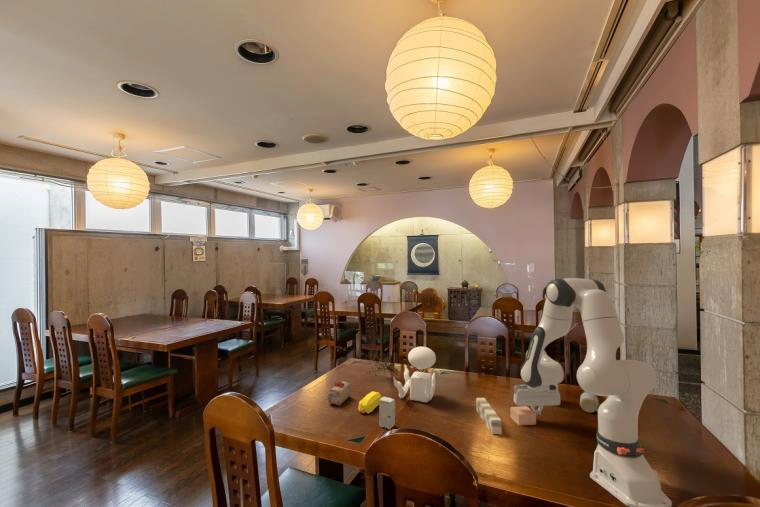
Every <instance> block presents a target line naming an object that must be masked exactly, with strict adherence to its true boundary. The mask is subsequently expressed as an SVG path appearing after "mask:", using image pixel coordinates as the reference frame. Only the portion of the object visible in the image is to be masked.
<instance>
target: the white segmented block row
mask: <svg viewBox="0 0 760 507" xmlns="http://www.w3.org/2000/svg"><path fill="white" fill-rule="evenodd" d="M475 404H476V405H475V410H476V412H477V414H478V415H479V416H480V417H479V418H480V419H481V420H482V421H483V423H484V424H485V426H486V427H487V429H488V431H489V433H490V434H491V435H492V434H500V435H502V434H503V433H502V419H501V417H499V415H498V414H497V412H496V411H495V410H494V408H493V407H492V406H491V404H490V403H489V402H488V401H487V399H486V398H485V397H475Z"/></svg>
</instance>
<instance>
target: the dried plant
mask: <svg viewBox="0 0 760 507" xmlns="http://www.w3.org/2000/svg"><path fill="white" fill-rule="evenodd" d="M359 329H360V327H359ZM360 337H361V340H362V341H364V339H366V337H364V336H363V335H360ZM363 344H364V345H363V347H365V348H366V350H367V351H368V354H365V353H364V352H363V351H361V349H359V350H358V349H357V350H356V349H353V350H352V352H353V353H354V354H356V353H358V354H357V357H359V359H361V357H362V356H363V355H364V357H363V360H366V361H365V362H362V365H364V364H365V365H369V364H372V362H373V364H374V367H370V368H369V367H368V368H365V369H364V371H366V374H367V375H368V373H369V375H371V373H372V374H375V376H377V373H383V374H384V375H387V374H388V373H389V374H393V375H396V376H398V377H399V376H400V375H401V374H402V373H401V371H399V367H398V368H395V362H392V361H393V360H390V361H389V359H390V358H388V356H387V354H385V353H383V352H384V351H381V352H380V353H379V355H378V354H377V353H378V350H375V351H374V349H373V348H372V347H370V346H369V344H367V343H363ZM336 348H339V349H338V351H341V350H342V351H344V352H345V351H350V352H351V349H350V350H349V349H348V350H347V348H346V347H344V348H342V347H338V346H335V349H336ZM379 349H380V350H381V348H379ZM382 356H384V357H383V358H382ZM369 369H370V370H369ZM367 370H368V371H367ZM362 376H365V373H364V374H362Z"/></svg>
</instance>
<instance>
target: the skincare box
mask: <svg viewBox="0 0 760 507" xmlns="http://www.w3.org/2000/svg"><path fill="white" fill-rule="evenodd" d="M378 406H379V407H378V414H379V415H378V416H379V418H378V424H379V425H378V426H380V428H383V427H385V428H384V429H386V428H387V429H386V430H392V429H393V428H394V427H395V426H394V425H396V424H395V423H396V421H395V419H396V399H394V398H392V397H387V396H382V398H381V399H380V400H379V405H378ZM393 426H394V427H393ZM392 427H393V428H392ZM391 428H392V429H391Z"/></svg>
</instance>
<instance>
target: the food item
mask: <svg viewBox="0 0 760 507" xmlns="http://www.w3.org/2000/svg"><path fill="white" fill-rule="evenodd" d="M350 387H351V385H350V383H349V382H347V381H339V382H336V381H335V382H334V386H332V387H331V388H329V391H328V393H327V402H328V403H329V404H331V405H334V404H335V405H334V406H338V405H339V406H341V405H342V404H344V402H346V400H348V398H350V397H351V388H350Z"/></svg>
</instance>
